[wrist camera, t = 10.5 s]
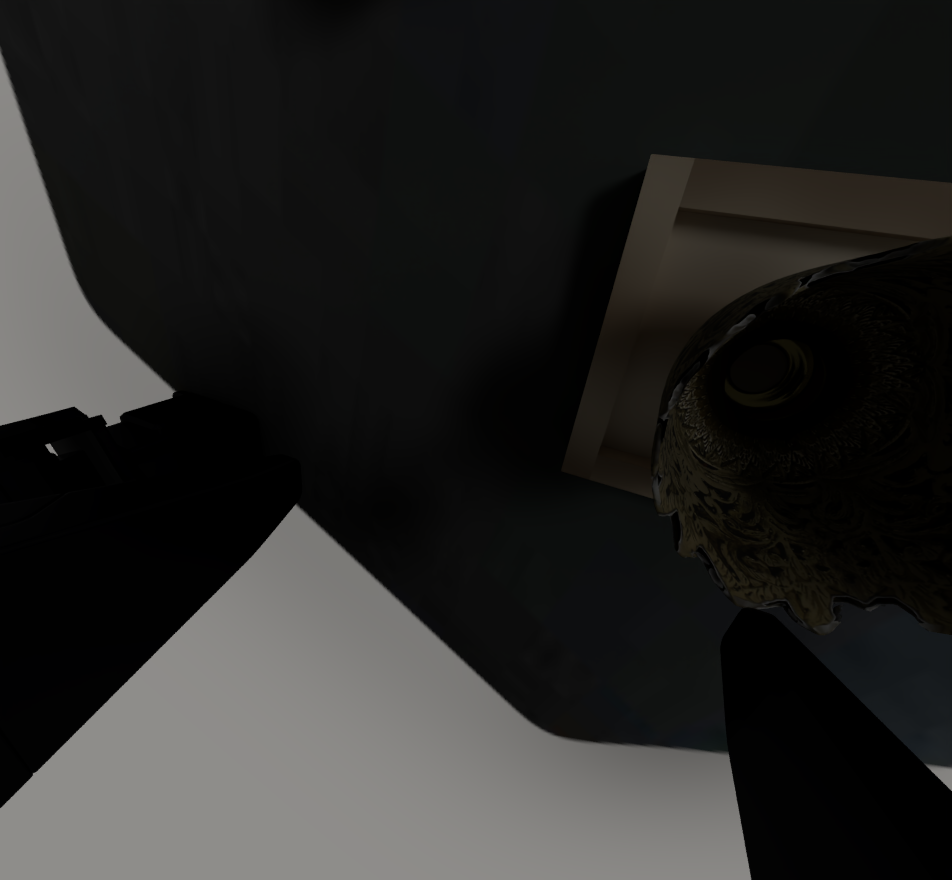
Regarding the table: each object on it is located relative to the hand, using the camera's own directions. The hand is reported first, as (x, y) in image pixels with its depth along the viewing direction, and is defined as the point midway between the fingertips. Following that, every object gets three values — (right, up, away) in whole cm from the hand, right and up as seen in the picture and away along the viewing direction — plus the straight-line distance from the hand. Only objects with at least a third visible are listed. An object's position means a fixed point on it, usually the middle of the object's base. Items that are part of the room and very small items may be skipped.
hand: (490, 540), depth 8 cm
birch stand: (+10, +5, +7) cm, 13 cm away
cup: (+9, +5, +6) cm, 12 cm away
